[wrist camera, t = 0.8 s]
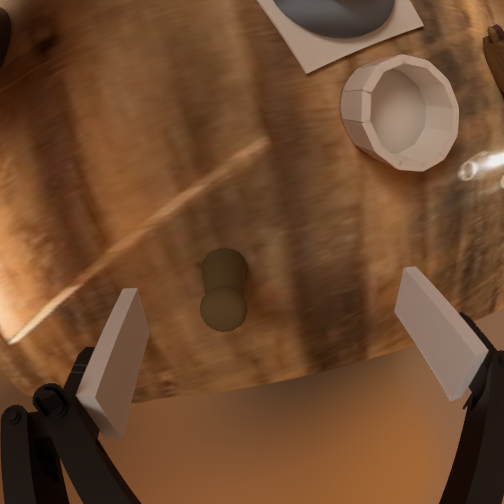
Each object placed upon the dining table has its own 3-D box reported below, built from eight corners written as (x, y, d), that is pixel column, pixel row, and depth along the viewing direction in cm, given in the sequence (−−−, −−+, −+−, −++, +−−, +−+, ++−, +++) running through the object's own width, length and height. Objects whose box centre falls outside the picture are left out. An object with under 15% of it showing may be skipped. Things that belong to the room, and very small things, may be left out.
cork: (241, 243, 42) (245, 290, 32) (251, 282, 44) (257, 334, 34) (197, 253, 42) (187, 301, 32) (209, 291, 44) (204, 343, 35)
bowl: (320, 85, 33) (339, 81, 27) (402, 48, 31) (431, 42, 24) (367, 175, 38) (391, 190, 32) (439, 135, 36) (470, 143, 30)
